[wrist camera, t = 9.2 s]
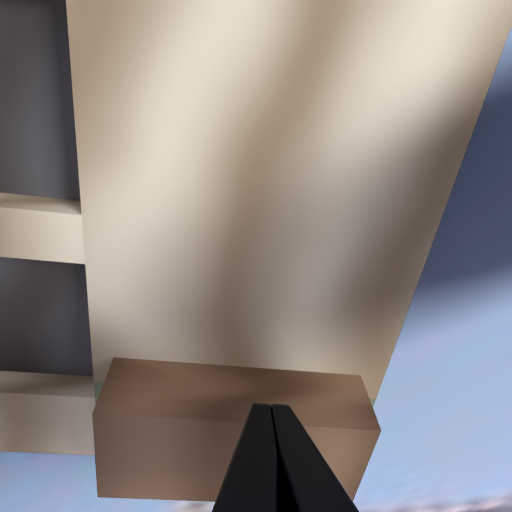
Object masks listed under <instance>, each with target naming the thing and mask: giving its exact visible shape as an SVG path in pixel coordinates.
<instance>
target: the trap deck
mask: <svg viewBox="0 0 512 512" xmlns="http://www.w3.org/2000/svg"><path fill="white" fill-rule="evenodd" d="M511 26H512V0H0V451H8V452H31V453H54V454H77V455H95V448H94V434H93V419H92V413H93V410H94V408H95V405H96V402H97V400H98V397H99V394H100V392H101V389H102V386H103V384H104V381H105V379H106V376H107V373H108V371H109V368H110V365H111V363H112V360H113V357H116V358H130V359H143V360H157V361H171V362H185V363H199V364H212V365H226V366H240V367H254V368H268V369H281V370H295V371H309V372H323V373H336V374H350V375H361V377H362V380H363V383H364V385H365V388H366V391H367V394H368V396H369V399H370V402H371V404H372V407H373V405H374V403H375V400H376V397H377V394H378V392H379V389H380V386H381V383H382V381H383V378H384V375H385V373H386V370H387V367H388V364H389V362H390V359H391V356H392V353H393V351H394V348H395V345H396V342H397V340H398V337H399V334H400V331H401V329H402V326H403V323H404V320H405V318H406V315H407V312H408V309H409V307H410V304H411V301H412V298H413V296H414V293H415V290H416V287H417V285H418V282H419V279H420V276H421V274H422V271H423V268H424V265H425V263H426V260H427V257H428V254H429V252H430V249H431V246H432V243H433V241H434V238H435V235H436V232H437V230H438V227H439V224H440V221H441V219H442V216H443V213H444V210H445V208H446V205H447V202H448V199H449V197H450V194H451V191H452V188H453V186H454V183H455V180H456V177H457V175H458V172H459V169H460V166H461V164H462V161H463V158H464V155H465V153H466V150H467V147H468V144H469V142H470V139H471V136H472V133H473V131H474V128H475V125H476V122H477V120H478V117H479V114H480V111H481V109H482V106H483V103H484V100H485V98H486V95H487V92H488V89H489V87H490V84H491V81H492V78H493V76H494V73H495V70H496V67H497V65H498V62H499V59H500V56H501V54H502V51H503V48H504V45H505V43H506V40H507V37H508V34H509V32H510V29H511Z"/></svg>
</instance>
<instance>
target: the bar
mask: <svg viewBox="0 0 512 512" xmlns="http://www.w3.org/2000/svg"><path fill="white" fill-rule="evenodd" d="M254 402H257V403H268V404H269V405H271V404H274V403H275V404H287V405H289V406H290V407H291V409H292V410H293V412H294V413H295V415H296V416H297V418H298V419H299V421H300V422H301V424H302V425H303V427H304V428H305V430H306V431H307V433H308V434H309V436H310V437H311V439H312V441H313V442H314V444H315V445H316V447H317V448H318V450H319V451H320V453H321V454H322V456H323V457H324V459H325V460H326V462H327V463H328V465H329V466H330V468H331V469H332V471H333V473H334V474H335V476H336V477H337V479H338V480H339V482H340V483H341V485H342V486H343V488H344V489H345V491H346V492H347V494H348V495H349V497H350V498H351V500H352V501H353V499H354V497H355V494H356V492H357V489H358V487H359V484H360V482H361V479H362V477H363V474H364V472H365V469H366V467H367V465H368V462H369V460H370V457H371V455H372V452H373V450H374V447H375V445H376V442H377V440H378V437H379V435H380V432H381V429H380V426H379V424H378V421H377V418H376V415H375V413H374V410H373V407H372V404H371V402H370V399H369V396H368V394H367V391H366V388H365V385H364V383H363V380H362V377H361V375H350V374H336V373H323V372H309V371H295V370H281V369H268V368H254V367H240V366H226V365H212V364H199V363H185V362H171V361H157V360H143V359H130V358H116V357H113V360H112V363H111V365H110V368H109V371H108V373H107V376H106V379H105V381H104V384H103V386H102V389H101V392H100V394H99V397H98V400H97V402H96V405H95V408H94V410H93V413H92V419H93V434H94V448H95V463H96V478H97V493H98V497H111V498H136V499H162V500H188V501H214V502H216V499H217V496H218V494H219V491H220V488H221V486H222V483H223V480H224V477H225V475H226V472H227V469H228V466H229V464H230V461H231V458H232V456H233V453H234V450H235V447H236V445H237V442H238V439H239V436H240V434H241V431H242V428H243V426H244V423H245V420H246V417H247V415H248V412H249V409H250V406H251V404H252V403H254Z"/></svg>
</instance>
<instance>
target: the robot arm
mask: <svg viewBox="0 0 512 512" xmlns="http://www.w3.org/2000/svg"><path fill="white" fill-rule="evenodd" d="M212 512H359V511H358V509H357V508H356V506H355V504H354V503H353V501H352V500H351V498H350V497H349V495H348V494H347V492H346V491H345V489H344V488H343V486H342V485H341V483H340V482H339V480H338V479H337V477H336V476H335V474H334V473H333V471H332V469H331V468H330V466H329V465H328V463H327V462H326V460H325V459H324V457H323V456H322V454H321V453H320V451H319V450H318V448H317V447H316V445H315V444H314V442H313V441H312V439H311V437H310V436H309V434H308V433H307V431H306V430H305V428H304V427H303V425H302V424H301V422H300V421H299V419H298V418H297V416H296V415H295V413H294V412H293V410H292V409H291V407H290V406H289V405H287V404H275V403H274V404H271V405H269V404H268V403H257V402H254V403H252V404H251V406H250V409H249V412H248V415H247V417H246V420H245V423H244V426H243V428H242V431H241V434H240V436H239V439H238V442H237V445H236V447H235V450H234V453H233V456H232V458H231V461H230V464H229V466H228V469H227V472H226V475H225V477H224V480H223V483H222V486H221V488H220V491H219V494H218V496H217V499H216V502H215V505H214V507H213V510H212Z"/></svg>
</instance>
